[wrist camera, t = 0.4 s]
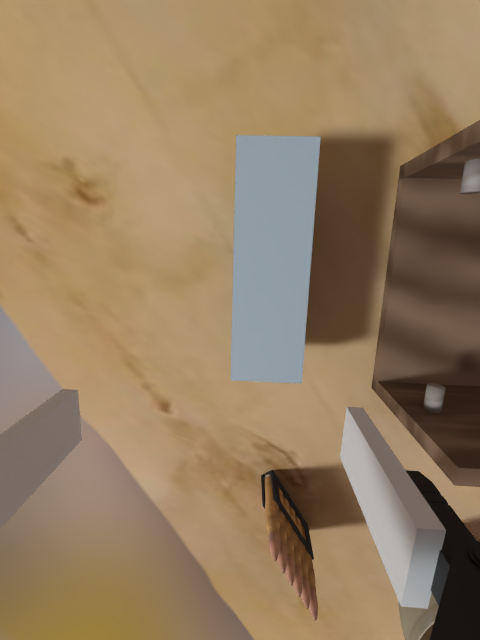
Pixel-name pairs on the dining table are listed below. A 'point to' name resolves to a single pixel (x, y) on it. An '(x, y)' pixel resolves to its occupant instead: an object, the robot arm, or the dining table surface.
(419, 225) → the shelf frame
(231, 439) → the dining table surface
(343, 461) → the robot arm
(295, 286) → the shelf board
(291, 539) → the ammunition clip
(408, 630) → the planter bowl
